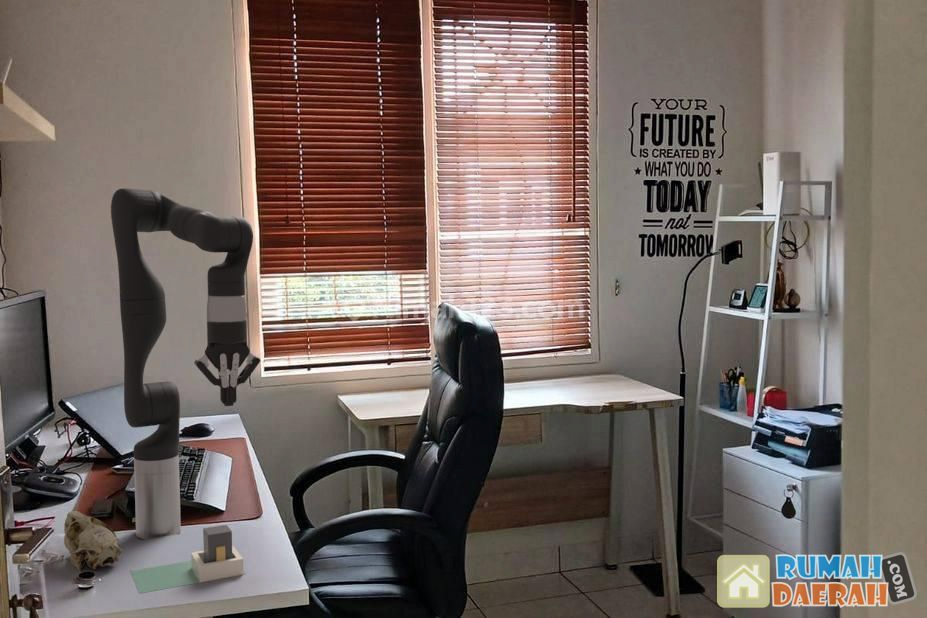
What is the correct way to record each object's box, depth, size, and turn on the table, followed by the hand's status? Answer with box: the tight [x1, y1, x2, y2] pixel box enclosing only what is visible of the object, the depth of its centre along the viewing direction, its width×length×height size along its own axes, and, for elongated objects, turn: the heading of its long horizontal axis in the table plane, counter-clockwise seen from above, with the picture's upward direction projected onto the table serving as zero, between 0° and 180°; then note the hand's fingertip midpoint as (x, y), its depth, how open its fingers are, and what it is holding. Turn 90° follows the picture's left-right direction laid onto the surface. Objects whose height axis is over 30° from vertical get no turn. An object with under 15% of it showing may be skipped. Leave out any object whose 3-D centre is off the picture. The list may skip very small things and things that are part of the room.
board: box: [130, 560, 247, 595], centre depth 160 cm, size 12×19×1 cm, turn 118°
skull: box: [63, 510, 124, 572], centre depth 166 cm, size 10×16×10 cm, turn 50°
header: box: [190, 545, 244, 583], centre depth 161 cm, size 8×8×3 cm
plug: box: [202, 524, 233, 564], centre depth 160 cm, size 5×4×8 cm
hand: (228, 405), depth 167 cm, fingers closed
